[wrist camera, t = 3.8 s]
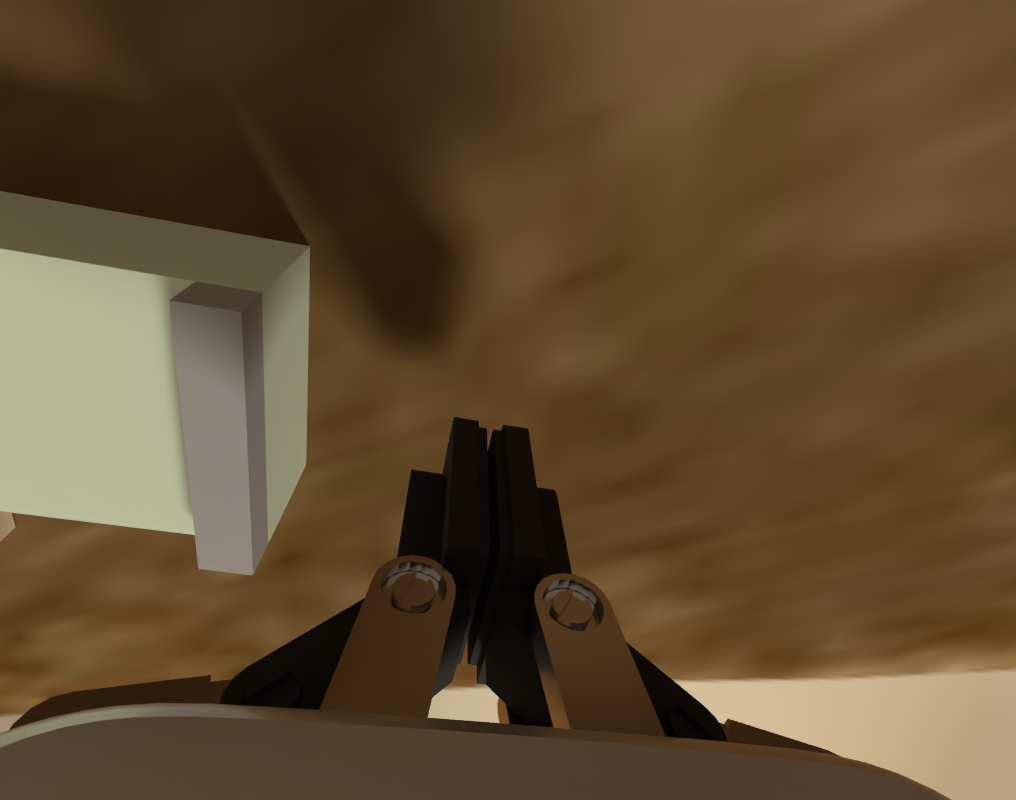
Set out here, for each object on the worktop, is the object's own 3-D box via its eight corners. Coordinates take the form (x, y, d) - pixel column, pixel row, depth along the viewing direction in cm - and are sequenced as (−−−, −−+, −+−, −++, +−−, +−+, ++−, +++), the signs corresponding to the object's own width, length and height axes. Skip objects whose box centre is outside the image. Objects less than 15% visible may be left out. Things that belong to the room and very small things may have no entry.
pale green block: (313, 243, 14) (241, 312, 10) (308, 458, 17) (253, 575, 13) (-48, 178, 13) (-281, 226, 9) (19, 418, 16) (-133, 530, 12)
